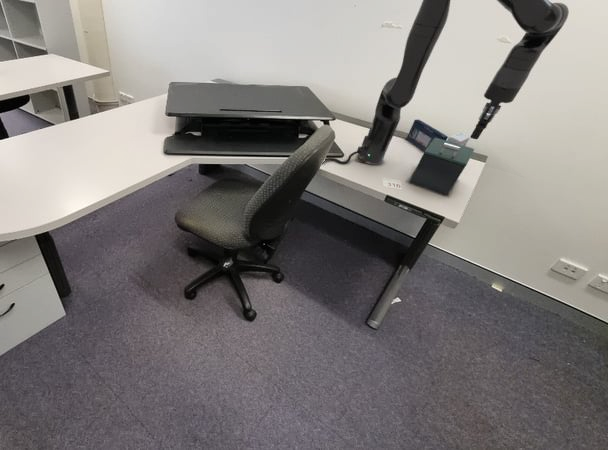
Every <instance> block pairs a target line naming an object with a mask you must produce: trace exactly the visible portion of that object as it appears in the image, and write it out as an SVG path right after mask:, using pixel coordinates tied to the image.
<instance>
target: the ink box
mask: <svg viewBox="0 0 608 450" xmlns="http://www.w3.org/2000/svg"><path fill="white" fill-rule="evenodd" d="M470 139H471V137H470V136H469V135H466V134H464V133H462V132H460V131H459V132H456V133H454V134H452V135H449V136H448V138H447V140H446V141H449V142H452V143H456V144H459V145H463V146H466V145H467V144H468V142H469V140H470Z"/></svg>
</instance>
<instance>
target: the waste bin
mask: <svg viewBox="0 0 608 450" xmlns="http://www.w3.org/2000/svg"><path fill="white" fill-rule="evenodd" d="M465 168H466V166H464V165H461V164H457V163H454V162H451V161H448V160H445V159H442V158H438V157H435V156H432V155H429V154H426V153H424V152H423V154H422V156H421V157H420V160H419V161H418V164H417V166H416V167H415V169H414V171H413V173H412V175H411V177H410V179H409V181H408V183H409V184H412V185H415V186H417V187H420V188H423V189H425V190H427V191H431V192H434V193H436V194H440V195H442V196H445V197H447V196H448V195H449V193H450V192H451V190H452V189H453V187H454V185H455V184H456V183H457V181H458V179H459V177H460V176H461V175H462V173H463V171H464V170H465Z"/></svg>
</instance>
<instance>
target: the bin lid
mask: <svg viewBox="0 0 608 450" xmlns="http://www.w3.org/2000/svg"><path fill="white" fill-rule="evenodd" d="M474 151H475V148H473V147H469V146H466V145H465V146H463V145H459V144H456V143H452V142H449V141H447V140H446V141H445V140H442V139H438V138H434V140H433V141H432V142H431V144H430V145H429V146H428V147H427V149H426V150H425V152H423V154H424V153H426V154H429V155H432V156H435V157H438V158H442V159H445V160H448V161H451V162H454V163H457V164H461V165H464V166H465V167H467V165H468V164H469V161H470V159H471V157H472V155H473V153H474Z"/></svg>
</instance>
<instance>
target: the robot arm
mask: <svg viewBox="0 0 608 450" xmlns="http://www.w3.org/2000/svg"><path fill="white" fill-rule="evenodd" d="M496 1H497V2H498V4H500V5H501V6H502V7H503V8H504V9H505V10H506V11H508V12H509V13H510V14H511V16H512V18H513V19H514V21H515V22H516V24H517V26H519V28H520V29H521V30H522V31H524V32H525V33H524V35H523V36H522V38H521V40H520V41H519V42H518V43H516V44H515V45H513V46H512V48H511V49H510V50H509V52H508V54H507V55H506V58H505V59H504V61H503V63H502V64H501V66H500V67H499V69H498V70H497V71H496V73H495V74H494V76H493V78H492V80H491V81H490V83H489V84H488V87H487V89H486V90H485V92H484V94H483V97H484V98H485V99H486V100H489V102H486V103H485V105H484V107H483V108H482V112H481V113H480V115H479V117H478V121H477V124H475V128H474V130H473V131H472V133H471V134H470V136H469V137H470V139H473V140H478V139H479V138H480V136H481V135H482V133H483V132H484V130H485V129H487V127H488V125H489V123H492V121H493V119H494V118H495V116H496V114H497V115H498V114H499V112H500V110H501V108H502V105H501V104H502V103H503V104H509V103H512V102H513V101H514V100H515V99H516V97H517V95H518V93H519V92H520V91H521V89H522V88H523V86H524V84H525V82H526V81H527V79H528V77H529V76H530V73H531V71H532V69H533V68H534V67H535V65H536V64H537V62H538V60H539V58H540V57H541V55H542V53H543V52H544V51H545V49H546V48H547V47H548V46H549V45H550V44H551V42H552V41H553V40H554V39H555V37H556V36H557V35H558V33H559V32H560V31H561V29H563V27H564V25H565V23H566V22H567V19H568V17H569V10H570V9H569V7H568V6H567V4H565V3H563V2H551V1H550V0H496ZM450 7H451V0H422V2H421V5H420V7H419V10H418V12H417V14H416V16H415V19H414V20H413V23H412V25H411V28H410V30H409V32H408V35H407V38H406V41H405V45H404V51H403V58H402V62H401V63H402V64H401V65H400V66H401V67H400V69H399V72H398V74H397V76H396V77H393V78H391V79H389V80H388V81H387V82H386V83H385V84H384V85H383V88H382V89H381V92H380V94H379V97H378V100H377V103H376V107H375V112H374V116H373V119H372V122H371V125H370V128H369V130H368V133H367V135H365V136H364V137H363V140H362V143H361V146H358V147H357V150H356V151H353V152H352V153H350V154H349V156H348V158H347V159H346V160H340V159H338V158H335V157H334V158H333V157H325V158H324V159H325V161H324V162H323V163H325V162H326V161H334V162H337V163H339V164H342V165H343V164H347V163H349V162H350V161H351V159H352V157H353V156H355V155H357V156H358V158H359V159H360V161H361V162H362V163H366V164H369V165H374V166H375V165H381V164H382V163H383V161H384V158H385V156H386V153H387V151H388V148H389V146H390V144H391V141H392V139H393V137H394V134H395V132H396V130H397V127H398V125H399V123H400V120H401V110H402V108H405V107H406V106H407V105H409V103H410V102H411V101H412V100H413V98H414V95H415V93H416V90H417V87H418V84H419V82H420V79H421V76H422V74H423V71H424V70H425V67H426V65H427V63H428V61H429V59H430V57H431V56H432V55H431V54H432V53H433V51H434V49H435V46H436V45H437V43H438V40H439V39H440V37H441V34H442V32H443V30H444V28H445V26H446V23H447V21H448V18H449V13H450ZM299 228H300V226H296V230H295V232H294V235H295V236H297V235H298V232H299Z"/></svg>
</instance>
